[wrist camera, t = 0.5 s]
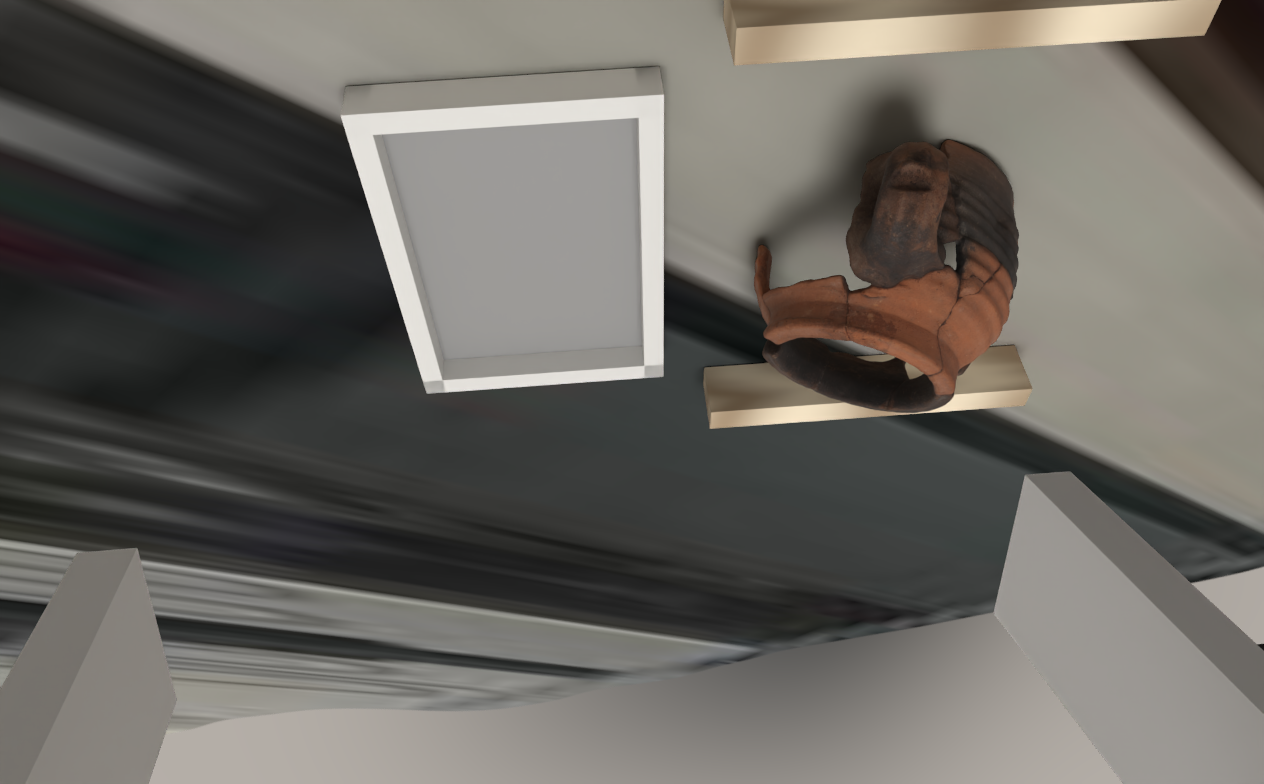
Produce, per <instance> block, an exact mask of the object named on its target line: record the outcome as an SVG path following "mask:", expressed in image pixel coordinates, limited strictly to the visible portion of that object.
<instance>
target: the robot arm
mask: <svg viewBox="0 0 1264 784" xmlns="http://www.w3.org/2000/svg"><path fill="white" fill-rule="evenodd" d="M994 615H995V616H996V617H997V619H998V620H999V621H1000V623H1001V624H1002V625H1003V627H1004V628H1005V629H1006V631H1008V633H1009V634H1010V636H1011V637H1012V638H1013V640H1014V641H1015V642H1016V644H1017V645H1018V646H1019V648H1020V649H1021V650H1022V652H1023V653H1024V654H1025V656H1026V657H1027V658H1028V659H1029V661H1030V662H1031V663H1032V665H1033V666H1034V667H1035V669H1036V670H1037V671H1038V673H1039V674H1040V675H1041V677H1042V678H1043V679H1044V681H1045V682H1046V683H1047V684H1048V686H1049V687H1050V688H1051V690H1052V691H1053V692H1054V694H1055V695H1056V696H1057V697H1058V699H1059V700H1060V702H1061V703H1062V704H1063V705H1064V707H1065V708H1066V709H1067V711H1068V712H1069V713H1070V715H1071V716H1072V717H1073V719H1074V720H1075V721H1076V723H1077V724H1078V725H1079V727H1080V728H1081V729H1082V730H1083V732H1084V733H1085V734H1086V736H1087V737H1088V738H1089V740H1090V741H1091V742H1092V744H1093V745H1094V746H1095V747H1096V749H1097V750H1098V752H1099V753H1100V754H1101V755H1102V757H1103V758H1104V759H1105V761H1106V762H1107V763H1108V765H1109V766H1110V767H1111V769H1112V770H1113V771H1114V773H1115V774H1116V775H1117V777H1118V778H1119V779H1120V780H1121V782H1122V783H1123V784H1264V644H1258V645H1257V644H1256V643H1255V642H1253V640H1252V639H1250V638H1249V637H1248V636H1247V635H1246V634H1245V633H1244V632H1243V631H1242V630H1241V629H1240V628H1239V627H1237V626H1236V625H1235V624H1234V623H1233V622H1232V621H1231V620H1230V619H1229V618H1228V617H1227V616H1226V615H1224V614H1223V613H1222V612H1221V611H1220V610H1219V609H1218V608H1217V607H1216V606H1215V605H1214V604H1213V603H1211V602H1210V601H1209V600H1208V599H1207V598H1206V597H1205V596H1204V595H1203V594H1202V593H1201V592H1200V591H1199V590H1197V589H1196V588H1195V587H1194V586H1193V585H1192V584H1191V583H1190V582H1189V581H1188V580H1187V579H1186V578H1185V577H1183V576H1182V575H1181V574H1180V573H1179V572H1178V571H1177V570H1176V569H1175V568H1174V567H1173V566H1172V565H1170V564H1169V563H1168V562H1167V561H1166V560H1165V559H1164V558H1163V557H1162V556H1161V555H1160V554H1159V553H1158V552H1156V551H1155V550H1154V549H1153V548H1152V547H1151V546H1150V545H1149V544H1148V543H1147V542H1146V541H1145V540H1143V539H1142V538H1141V537H1140V536H1139V535H1138V534H1137V533H1136V532H1135V531H1134V530H1133V529H1132V528H1131V527H1129V526H1128V525H1127V524H1126V523H1125V522H1124V521H1123V520H1122V519H1121V518H1120V517H1119V516H1118V515H1116V514H1115V513H1114V512H1113V511H1112V510H1111V509H1110V508H1109V507H1108V506H1107V505H1106V504H1105V503H1104V502H1102V501H1101V500H1100V499H1099V498H1098V497H1097V496H1096V495H1095V494H1094V493H1093V492H1092V491H1091V490H1089V489H1088V488H1087V487H1086V486H1085V485H1084V484H1083V483H1082V482H1081V481H1080V480H1079V479H1078V478H1076V477H1075V476H1074V475H1073V474H1072V473H1071V472H1070V471H1068V472H1056V473H1044V474H1032V475H1025V478H1024V483H1023V487H1022V491H1021V496H1020V500H1019V504H1018V509H1017V513H1016V518H1015V522H1014V526H1013V531H1012V535H1011V540H1010V544H1009V548H1008V553H1007V557H1006V561H1005V566H1004V570H1003V575H1002V579H1001V583H1000V588H999V592H998V597H997V601H996V605H995V610H994ZM176 700H177V698H176V695H175V691H174V687H173V683H172V679H171V676H170V672H169V668H168V664H167V660H166V656H165V653H164V649H163V645H162V641H161V637H160V633H159V630H158V626H157V622H156V618H155V614H154V610H153V607H152V603H151V599H150V595H149V591H148V587H147V584H146V580H145V576H144V572H143V568H142V565H141V561H140V557H139V553H138V549H137V548H131V549H119V550H107V551H95V552H83V553H77V554H76V556H75V557H74V559H73V561H72V563H71V564H70V566H69V568H68V570H67V572H66V573H65V575H64V577H63V579H62V580H61V582H60V584H59V586H58V588H57V589H56V591H55V593H54V595H53V596H52V598H51V600H50V602H49V604H48V605H47V607H46V609H45V611H44V612H43V614H42V616H41V618H40V620H39V621H38V623H37V625H36V627H35V628H34V630H33V632H32V634H31V636H30V637H29V639H28V641H27V643H26V644H25V646H24V648H23V650H22V652H21V653H20V655H19V657H18V659H17V660H16V662H15V664H14V666H13V668H12V669H11V671H10V673H9V675H8V676H7V678H6V680H5V682H4V684H3V685H2V687H1V689H0V784H149V781H150V778H151V775H152V772H153V769H154V766H155V763H156V760H157V757H158V754H159V751H160V748H161V745H162V742H163V739H164V736H165V733H166V730H167V727H168V724H169V721H170V718H171V715H172V712H173V709H174V706H175V703H176Z"/></svg>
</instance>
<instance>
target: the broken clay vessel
mask: <svg viewBox="0 0 1264 784" xmlns="http://www.w3.org/2000/svg"><path fill="white" fill-rule="evenodd" d="M866 169H867V170H866V172H865V173H864V175H863V178H862V192H861V200H860V204H859V205H858V206H857V207H856V208H855V210H854V213H853V217H852V223H851V227H850V228H849V230H848V232H847V236H846V244H847V249H848V253H849V258H850V266H851V268H852V271H853V273H854V274H855V275H856V276H857V277H858V278H859V279H861V280H863V281H866V282H869V283H871V285H870V286H869V287H867V288H862V289H858V290H854V291H850V290H849V288H848V285H847V282H846V279H845V277H844V276H842V275H835V276H830V277H827V278H822V279H817V280H812V279H810V280H805V281H800V282H798V283H796V284H794V285H792V286H788V287H778V288H775V289H772V290H770V288H769V278H770V271H771V263H772V256H771V253H770V251H769V250H768V249H767V247H765V246H764V245H760V246H759V247H758V253H757V255H758V257H757V259H756V261H755V273H756V274H755V277H754V287H755V291H756V294H757V299H758V303H759V307H760V310H761V313H762V316H763V318H764V320H765V322H766V324H767V325H768V326H767V328H766V329H765V331H764V333H763V334H764V337H765V338H766V339H767V342H766V344H765V346H764V349H763V352H762V354H763V357H764V358H765V359H766V360H767V362H768V363H769V364H770V365H771V366H772V367H773V368H775V369H776V370H777V371H778V372H779V373H781V374H782V375H784V376H786V377H787V378H788V379H790V380H792V381H793V382H795V383H797V384H799V385H802V386H804V387H806V388H809V389H812V390H813V391H815V392H817V393H819V394H822V395H824V396H826V397H828V398H831V399H836V400H839V401H842V402H845V403H848V404H851V405H855V406H860V407H864V408H868V409H873V410H879V411H887V412H896V413H918V412H927V411H931V410H934V409H937V408H940V407H942V406H944V405H946V404H947V403H948V402H950V400H951V399H952V398H953V397H954V391H955V388H956V379H957V376H960V375H962V374H964V372H965V371H966V369H967V368H968V367H969V365H970V364H971V362H973V361H974V360H975V359H976V358H977V357H978V356H980V355H982V354H983V353H985V352H986V351H987V350H988V348H989V346H990V345H991V344H993V343H994V342H995V341H996V340H997V339H998V337H999V335H1000V333H1001V331H1002V326H1003V325H1004V324H1005V323H1006V321H1007V319H1008V316H1009V303H1010V300H1011V299H1012V298H1013V291H1014V289H1015V287H1016V283H1017V276H1016V272H1017V269H1018V258H1017V253H1018V249H1019V248H1018V238H1019V233H1018V229H1017V227H1016V222H1015V217H1014V210H1013V205H1014V199H1013V191H1012V188H1011V185H1010V184H1009V182H1008V179H1007V177H1006V176H1005V174H1004V173H1003V172H1002V171H1001V170H1000V169H999V168H998V167H997V166H996V165H995V163H994V162H993V161H991V160H990V159H989V158H987V157H986V156H985V155H983V154H981V153H980V152H977V151H974V150H973V149H971V148H969V147H967V146H965V145H963V144H960V143H958V142H955V141H952V140H946V141H945V142H943V144H942V146H941V149H940V150H938V149H936V148H935V147H933V146H932V145H931V144H929V143H927V142H906V143H903V144H902V145H900V146H898V147H896V148H895V149H894V150H893V151H891V152H887V153H884V154H881V155H878V156H877V157H875V158H873V159H871V160H870V161H868V163H867V164H866ZM954 241H955V242H956V262H957V267H956V271H955V270H954V269H953V268H952V267H951V266H949V265H945V264H944V261H945V258H946V252H945V248H944V245H943V244H945V243H948V242H954ZM815 338H827V339H834V340H844V341H853V342H855V343H858V344H861V345H864V346H867V347H871V348H874V349H876V350H879V351H882V352H884V353H887V354H889V355H891V356H894V357H895V358H893V359H891V360H888V361H884V362H878V361H866V360H864V359H861V358H858V357H855V356H853V355H850V354H847V353H840V352H837V353H832V352H830V351H829V350H828V348H827V346H826V345H825V344H823V343H822V342H820V341H818V340H817V339H815ZM906 362H907V363H908V364H910V365H912V366H914V367H916V368H917V369H918V370H919V371H921V372H922V373H924V374H922V375H921V376H919V377H916V378H913V379H909V377H908V374H907V371H906V368H905V364H906Z"/></svg>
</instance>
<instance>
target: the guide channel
mask: <svg viewBox="0 0 1264 784" xmlns="http://www.w3.org/2000/svg"><path fill="white" fill-rule="evenodd" d="M1220 2H1221V0H724V11H723V20H724V24H725V28H726V33H727V37H728V41H729V45H730V50H731V54H732V58H733V62H734V65H748V64H763V63H779V62H794V61H810V60H826V59H841V58H857V57H873V56H888V55H904V54H919V53H935V52H951V51H966V50H982V49H997V48H1013V47H1029V46H1044V45H1060V44H1076V43H1091V42H1107V41H1122V40H1138V39H1154V38H1169V37H1185V36H1200V35H1205V33H1206V31H1207V29H1208V27H1209V25H1210V22H1211V20H1212V18H1213V16H1214V14H1215V12H1216V10H1217V8H1218V6H1219V4H1220ZM858 358H861V359H864V360H866V361H878V362H884V361H888V360H891V359H893V358H895V357H894V356H891V355H889V354H885V355H872V356H858ZM905 368H906V371H907V374H908V377H909V379H913V378H916V377H919V376H921V375H922V374H924V373H922V372H921V371H919V370H918V369H917V368H916V367H914V366H912V365H910V364H908V363H907V362H906V364H905ZM703 385H704V392H705V398H706V405H707V412H708V418H709V425H710V429H713V428H726V427H740V426H754V425H767V424H781V423H794V422H808V421H822V420H835V419H849V418H862V417H876V416H889V415H903V414H917V413H896V412H887V411H879V410H873V409H868V408H864V407H860V406H855V405H851V404H848V403H845V402H842V401H839V400H836V399H831V398H828V397H826V396H824V395H822V394H819V393H817V392H815V391H813V390H812V389H809V388H806V387H804V386H802V385H799V384H797V383H795V382H793V381H792V380H790V379H788V378H787V377H786V376H784V375H782V374H781V373H779V372H778V371H777V370H776V369H775V368H773V367H772V366H771V365H770V364H769V363H760V364H746V365H732V366H719V367H705V368H704V382H703ZM1031 391H1032V386H1031V384H1030V381H1029V379H1028V377H1027V374H1026V372H1025V369H1024V367H1023V364H1022V362H1021V360H1020V357H1019V355H1018V352H1017V350H1016V347H1015V345H1011V346H997V347H989V348H988V350H987V351H986V352H985V353H983V354H982V355H980V356H978V357H977V358H976V359H975V360H974V361H973V362H971V364H970V365H969V367H968V368H967V369H966V371H965V372H964V374H962V375H960V376H957V379H956V388H955V391H954V397H953V398H952V399H951V400H950V402H948V403H947V404H946V405H944V406H942V407H940V408H937V409H934V410H931V411H927V412H918V413H930V412H944V411H957V410H971V409H985V408H998V407H1012V406H1025V404H1026V401H1027V399H1028V397H1029V395H1030V393H1031Z"/></svg>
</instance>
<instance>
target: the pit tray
mask: <svg viewBox="0 0 1264 784" xmlns="http://www.w3.org/2000/svg"><path fill="white" fill-rule="evenodd" d="M341 118H342V121H343V125H344V128H345V131H346V134H347V138H348V141H349V144H350V147H351V150H352V154H353V157H354V160H355V163H356V167H357V170H358V173H359V176H360V179H361V183H362V186H363V189H364V192H365V196H366V199H367V202H368V205H369V209H370V212H371V215H372V218H373V221H374V225H375V228H376V231H377V234H378V238H379V241H380V244H381V247H382V250H383V254H384V257H385V260H386V263H387V267H388V270H389V273H390V276H391V279H392V283H393V286H394V289H395V292H396V296H397V299H398V302H399V305H400V309H401V312H402V315H403V318H404V321H405V325H406V328H407V331H408V334H409V338H410V341H411V344H412V347H413V350H414V354H415V357H416V360H417V363H418V367H419V370H420V373H421V376H422V380H423V383H424V386H425V389H426V392H427V394H428V393H442V392H456V391H470V390H484V389H498V388H511V387H525V386H539V385H553V384H567V383H581V382H595V381H608V380H622V379H636V378H650V377H663V329H664V92H663V85H662V79H661V72H660V66H659V67H643V68H628V69H612V70H596V71H581V72H565V73H549V74H534V75H518V76H502V77H487V78H471V79H456V80H440V81H424V82H409V83H393V84H377V85H362V86H346V88H345V94H344V100H343V105H342V111H341Z"/></svg>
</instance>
